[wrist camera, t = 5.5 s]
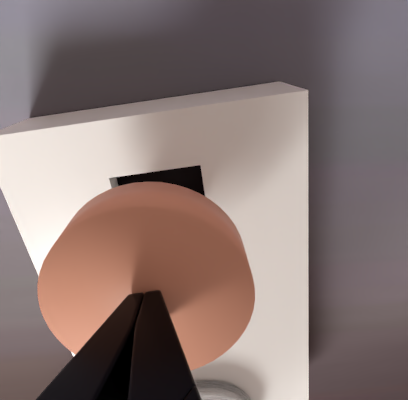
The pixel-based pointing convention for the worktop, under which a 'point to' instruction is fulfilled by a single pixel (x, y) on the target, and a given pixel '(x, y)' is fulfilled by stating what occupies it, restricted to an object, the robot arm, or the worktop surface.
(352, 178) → the worktop surface
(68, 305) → the terracotta plug
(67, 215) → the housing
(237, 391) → the plug
